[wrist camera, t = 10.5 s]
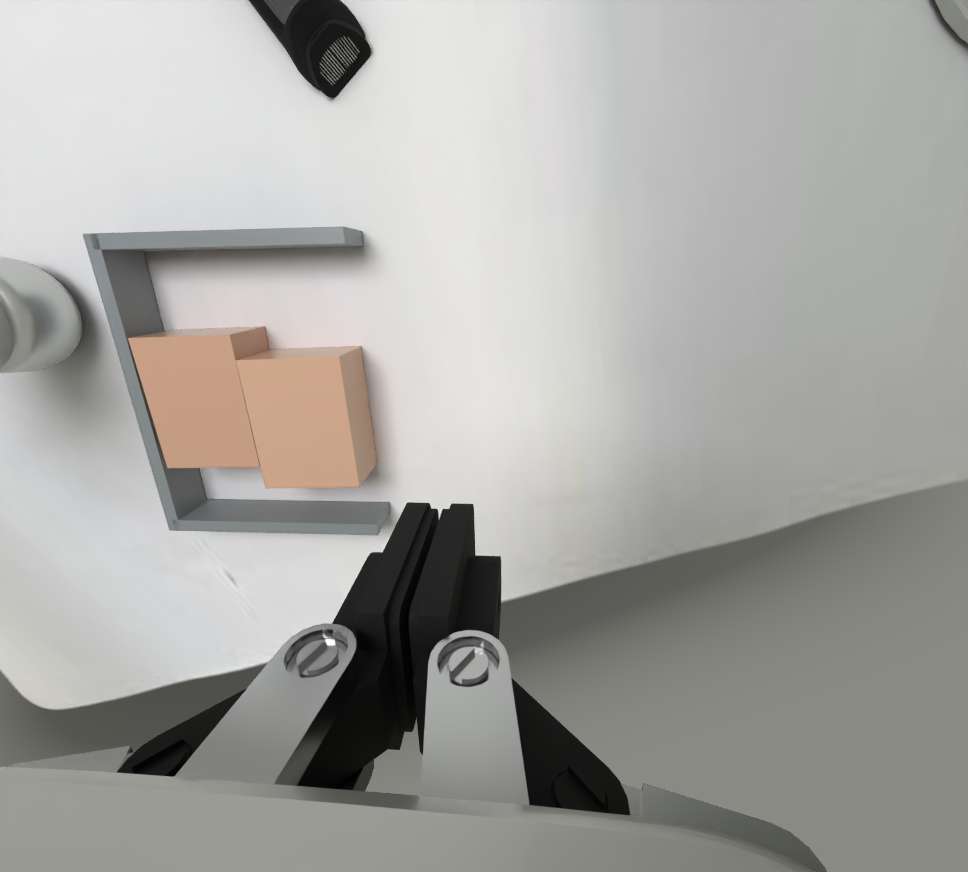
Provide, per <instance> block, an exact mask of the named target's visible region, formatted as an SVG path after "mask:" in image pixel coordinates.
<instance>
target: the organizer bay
mask: <svg viewBox="0 0 968 872" xmlns="http://www.w3.org/2000/svg"><path fill="white" fill-rule="evenodd" d="M83 237H84V240H85V244H86V247H87V250H88V254H89V257H90V261H91V264H92V267H93V271H94V274H95V278H96V281H97V285H98V288H99V291H100V295H101V298H102V302H103V305H104V308H105V312H106V315H107V319H108V322H109V325H110V329H111V332H112V336H113V339H114V343H115V346H116V349H117V353H118V356H119V360H120V363H121V366H122V370H123V373H124V377H125V380H126V383H127V387H128V390H129V394H130V397H131V400H132V404H133V407H134V411H135V414H136V418H137V421H138V424H139V428H140V431H141V435H142V438H143V441H144V445H145V448H146V452H147V455H148V458H149V462H150V465H151V469H152V472H153V475H154V479H155V482H156V486H157V489H158V493H159V496H160V499H161V503H162V506H163V510H164V513H165V516H166V520H167V523H168V527H169V530H175V531H219V532H262V533H306V534H349V535H378V534H379V533H380V531H381V529H382V527H383V525H384V523H385V521H386V519H387V517H388V515H389V514H390V505H389V502H343V501H286V500H230V499H206V495H205V491H204V487H203V483H202V479H201V475H200V471H199V468H167V465H166V461H165V458H164V455H163V452H162V448H161V445H160V442H159V438H158V435H157V432H156V429H155V425H154V422H153V419H152V415H151V412H150V409H149V406H148V402H147V399H146V396H145V392H144V389H143V386H142V383H141V379H140V376H139V373H138V369H137V366H136V363H135V360H134V356H133V353H132V350H131V346H130V343H129V340H128V338H131V337H137V336H142V335H148V334H154V333H159V332H164V330H163V326H162V322H161V318H160V314H159V310H158V306H157V303H156V299H155V295H154V291H153V287H152V283H151V279H150V275H149V271H148V267H147V263H146V259H145V255H144V251H183V250H224V249H265V248H306V247H347V246H363V239H362V231H359V230H355V229H351V228H347V227H312V228H276V229H240V230H204V231H168V232H132V233H96V234H83Z"/></svg>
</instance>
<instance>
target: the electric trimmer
mask: <svg viewBox="0 0 968 872" xmlns="http://www.w3.org/2000/svg"><path fill="white" fill-rule="evenodd" d="M249 1H250V2H251V4H252V5H253V6H254V8H255V9H256V10H257V12H258V13H259V14H260V16H261V17H262V18H263V20H264V21H265V22H266V24H267V25H268V26H269V28H270V29H271V30H272V32H273V33H274V34H275V36H276V37H277V38H278V40H279V41H280V42H281V44H282V45H283V46H284V48H285V49H286V50H287V52H288V54H289V55H290V57H291V59H292V60H293V62H294V64H295V65H296V67H297V69H298V70H299V72H300V73H301V74H302V76H303V77H304V78H305V79H306V80H307V81H308V82H310V83H311V84H312V85H313V86H314V87H315V88H317V89H319V90H321V91H322V92H323V93H324V94H325V95H327V96H328V97H332V98H334V97H336V96H337V95H338V94H339V93H340V91H341V90H342V89H343V88H344V87H345V86H346V84H347V83H348V82H349V81H350V80H351V78H352V77H353V76H354V75H355V74H356V72H357V71H358V70H359V69H360V68H361V66H362V65H363V64H364V63H365V62H366V61H367V59H368V58H369V57H370V52H371V50H370V47H369V44H368V43H367V41H366V40H365V35H364V32H363V30H362V28H361V26H360V24H359V23H358V21H357V19H356V18H355V16H354V15H353V14H352V12H351V11H350V10H349V9H348V7H347V6H346V5H344V4H343V3H342V2H341V1H340V0H249Z"/></svg>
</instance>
